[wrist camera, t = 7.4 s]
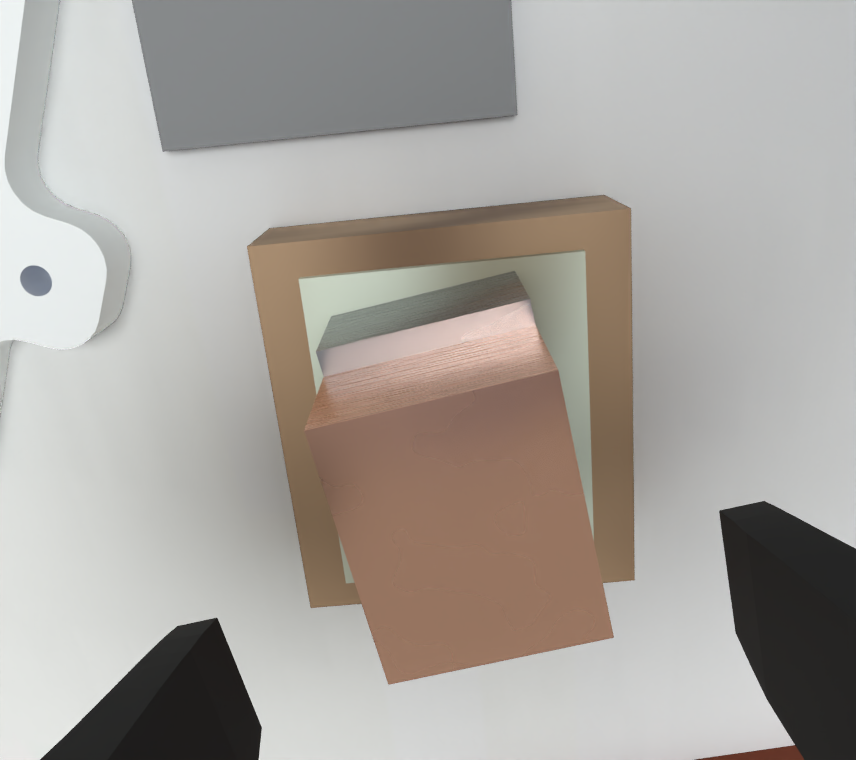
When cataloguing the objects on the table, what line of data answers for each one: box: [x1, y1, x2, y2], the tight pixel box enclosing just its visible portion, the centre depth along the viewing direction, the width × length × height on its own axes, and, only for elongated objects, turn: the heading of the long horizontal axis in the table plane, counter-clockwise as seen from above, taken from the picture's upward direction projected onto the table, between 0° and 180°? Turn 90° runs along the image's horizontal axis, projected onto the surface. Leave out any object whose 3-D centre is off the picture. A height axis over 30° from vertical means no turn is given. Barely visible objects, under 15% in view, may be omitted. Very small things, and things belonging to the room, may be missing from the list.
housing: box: [304, 271, 614, 684], centre depth 15 cm, size 4×6×5 cm, turn 14°
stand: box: [247, 195, 635, 608], centre depth 19 cm, size 8×9×3 cm
